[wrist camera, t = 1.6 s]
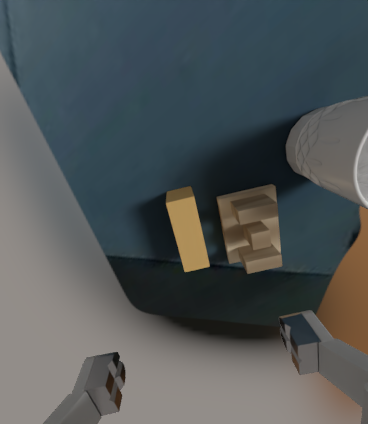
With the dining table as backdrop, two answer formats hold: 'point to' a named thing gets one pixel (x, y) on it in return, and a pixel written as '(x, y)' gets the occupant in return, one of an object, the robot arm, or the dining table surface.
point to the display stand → (251, 228)
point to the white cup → (333, 149)
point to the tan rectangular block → (187, 228)
